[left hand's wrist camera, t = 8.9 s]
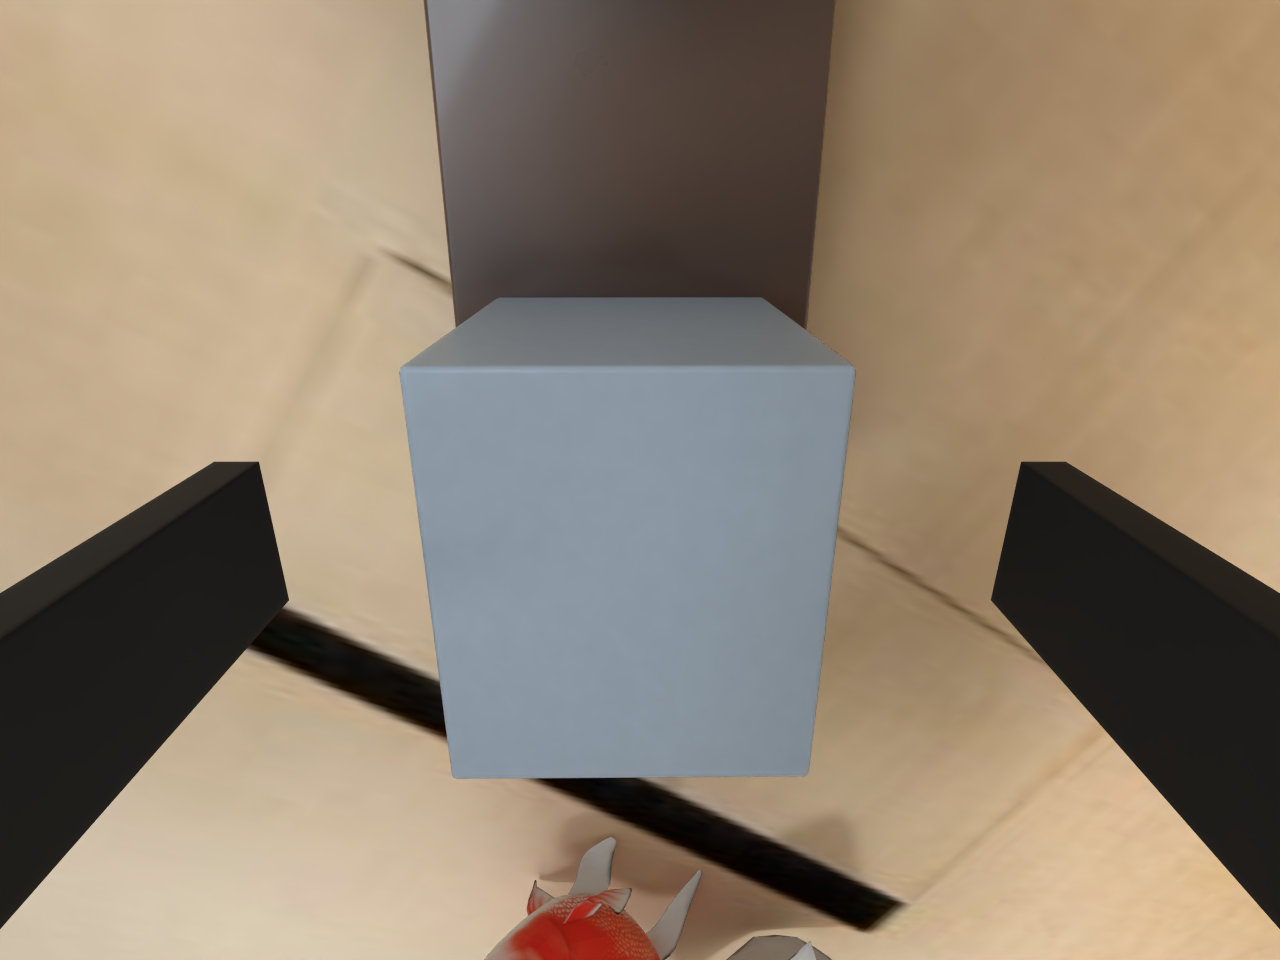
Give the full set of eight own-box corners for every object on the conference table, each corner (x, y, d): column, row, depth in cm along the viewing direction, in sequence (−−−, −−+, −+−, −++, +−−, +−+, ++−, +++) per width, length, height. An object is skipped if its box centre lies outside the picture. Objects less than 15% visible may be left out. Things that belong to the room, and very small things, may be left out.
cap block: (746, 571, 18) (810, 778, 12) (516, 572, 18) (451, 781, 12) (764, 296, 16) (859, 365, 9) (495, 296, 15) (396, 366, 9)
